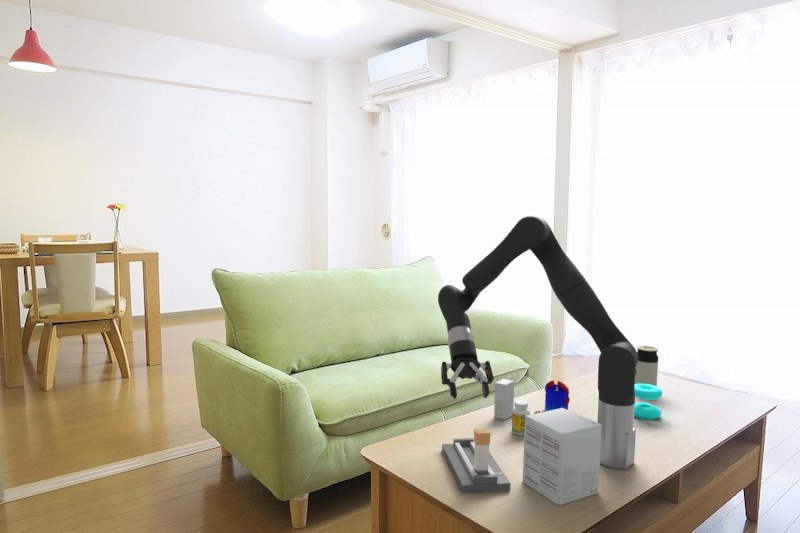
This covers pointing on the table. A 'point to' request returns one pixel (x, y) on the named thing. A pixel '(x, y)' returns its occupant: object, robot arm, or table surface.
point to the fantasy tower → (556, 396)
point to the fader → (481, 451)
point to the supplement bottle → (519, 417)
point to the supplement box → (561, 455)
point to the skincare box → (504, 399)
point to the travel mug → (646, 365)
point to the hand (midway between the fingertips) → (470, 397)
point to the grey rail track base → (473, 468)
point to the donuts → (647, 409)
